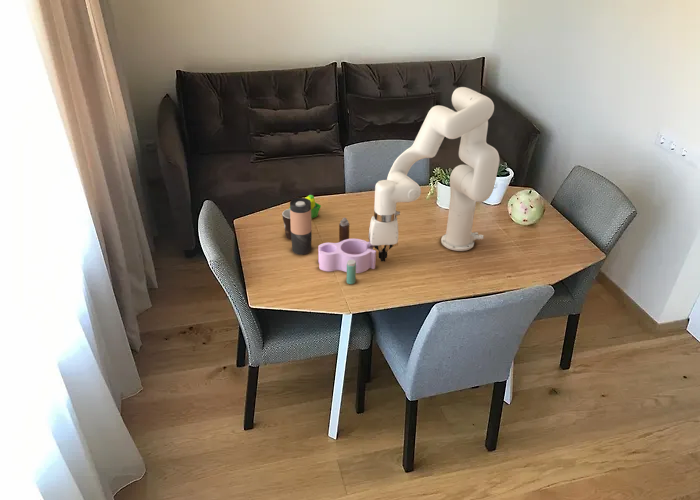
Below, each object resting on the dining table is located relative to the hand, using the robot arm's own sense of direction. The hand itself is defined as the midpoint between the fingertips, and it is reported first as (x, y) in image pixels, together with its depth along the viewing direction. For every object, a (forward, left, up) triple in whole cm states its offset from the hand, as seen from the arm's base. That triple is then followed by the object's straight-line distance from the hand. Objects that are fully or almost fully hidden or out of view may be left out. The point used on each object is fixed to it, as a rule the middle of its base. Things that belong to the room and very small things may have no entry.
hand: (382, 259), depth 214 cm
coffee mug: (+31, -23, -1) cm, 39 cm away
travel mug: (+29, -11, -1) cm, 31 cm away
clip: (+13, 0, -1) cm, 13 cm away
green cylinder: (+13, +11, -1) cm, 17 cm away
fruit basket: (+26, -36, -1) cm, 44 cm away
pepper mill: (+13, -12, -1) cm, 17 cm away
